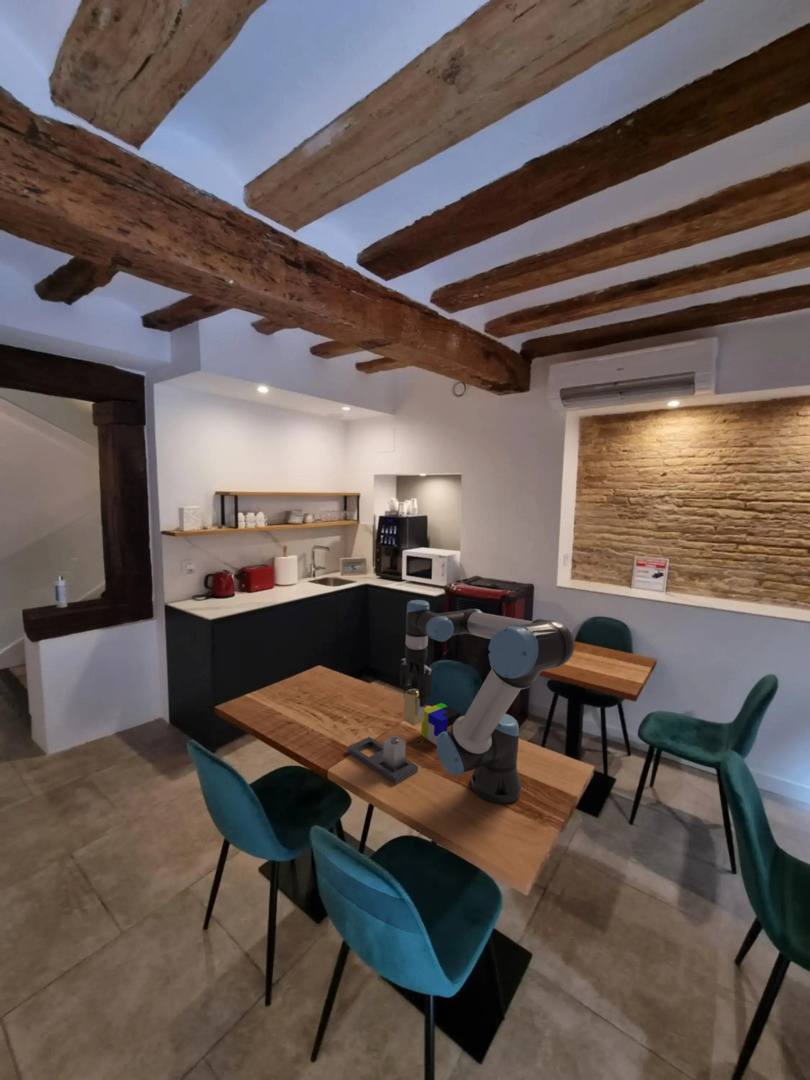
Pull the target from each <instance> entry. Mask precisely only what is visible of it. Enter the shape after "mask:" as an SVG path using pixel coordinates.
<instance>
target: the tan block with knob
mask: <svg viewBox="0 0 810 1080" xmlns="http://www.w3.org/2000/svg"><path fill="white" fill-rule="evenodd" d="M417 697H419V691H418V688H411V689H409V691H407V692H405V696H404V695H403V699H404V701H403V704H404V705H403V721H404V722H406V723H408V724H410V725H411V726H414V727H415V726H416V725H419V724H422V722H423V721H424V714H423V715H420V716H417ZM425 706H426V705H425ZM425 706H424V711H425V709H426V708H425Z"/></svg>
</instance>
